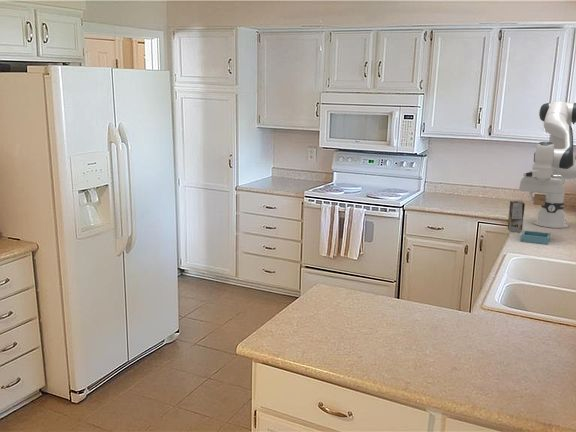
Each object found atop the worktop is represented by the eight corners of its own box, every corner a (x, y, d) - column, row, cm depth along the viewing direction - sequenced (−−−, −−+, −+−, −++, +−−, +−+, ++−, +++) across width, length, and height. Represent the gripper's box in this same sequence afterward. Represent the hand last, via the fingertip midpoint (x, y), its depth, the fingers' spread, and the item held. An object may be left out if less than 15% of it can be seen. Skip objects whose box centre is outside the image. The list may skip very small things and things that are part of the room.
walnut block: (534, 203, 293) (535, 193, 292) (545, 204, 290) (546, 194, 290) (533, 204, 289) (534, 194, 288) (544, 205, 286) (545, 195, 285)
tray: (523, 237, 300) (524, 230, 299) (549, 240, 294) (550, 233, 293) (520, 241, 289) (521, 234, 289) (547, 244, 283) (548, 237, 283)
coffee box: (522, 232, 312) (525, 203, 309) (509, 231, 313) (512, 202, 310) (519, 229, 321) (521, 201, 318) (507, 228, 322) (509, 200, 319)
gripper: (565, 175, 285) (562, 202, 287) (522, 172, 295) (519, 198, 297) (564, 176, 279) (561, 203, 282) (520, 173, 289) (517, 199, 291)
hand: (539, 201), depth 289 cm, fingers closed on walnut block, 5 cm apart
